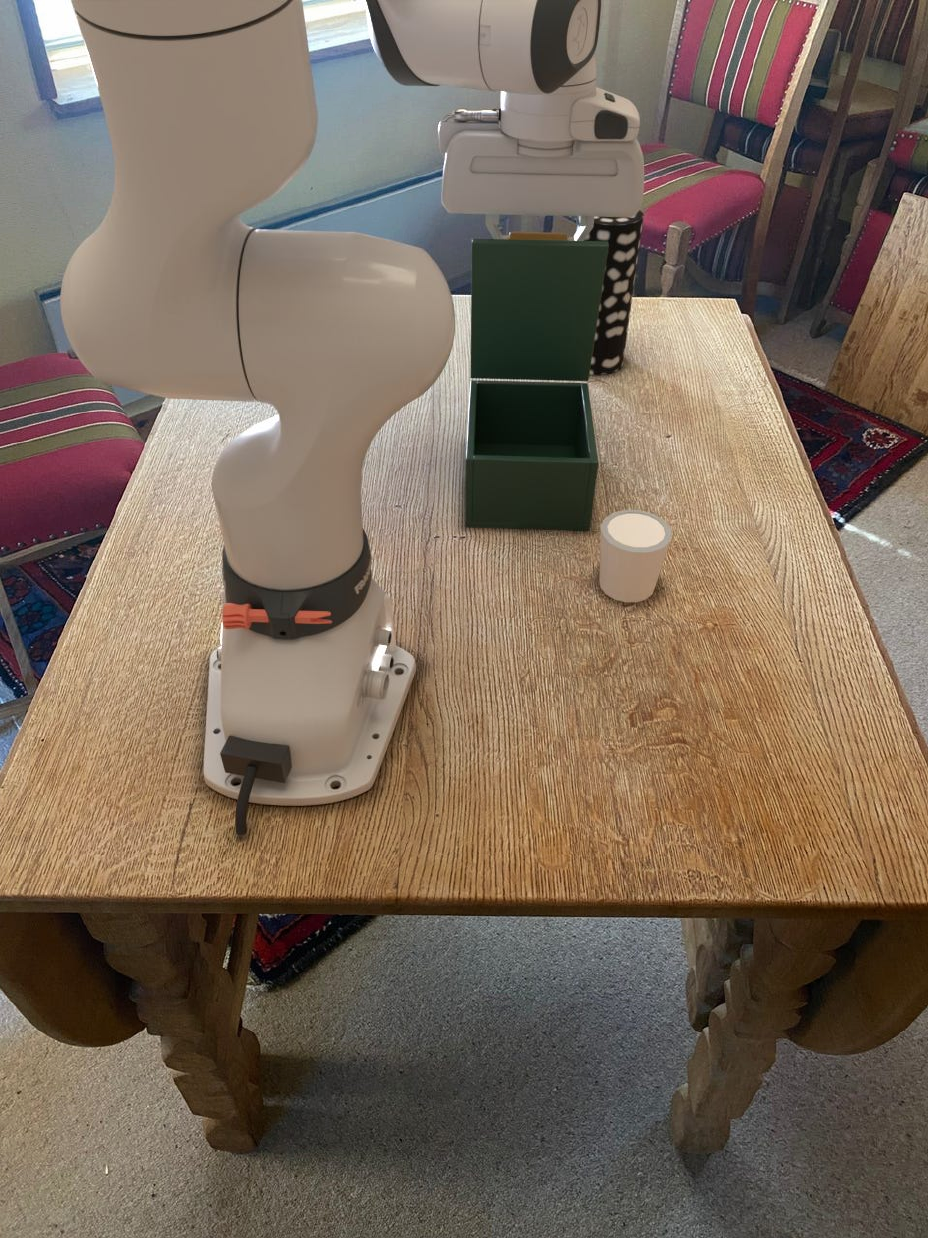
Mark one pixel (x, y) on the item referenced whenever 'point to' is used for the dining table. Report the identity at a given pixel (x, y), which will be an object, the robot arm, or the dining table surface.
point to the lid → (535, 306)
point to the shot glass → (632, 554)
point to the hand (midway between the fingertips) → (537, 256)
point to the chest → (530, 456)
